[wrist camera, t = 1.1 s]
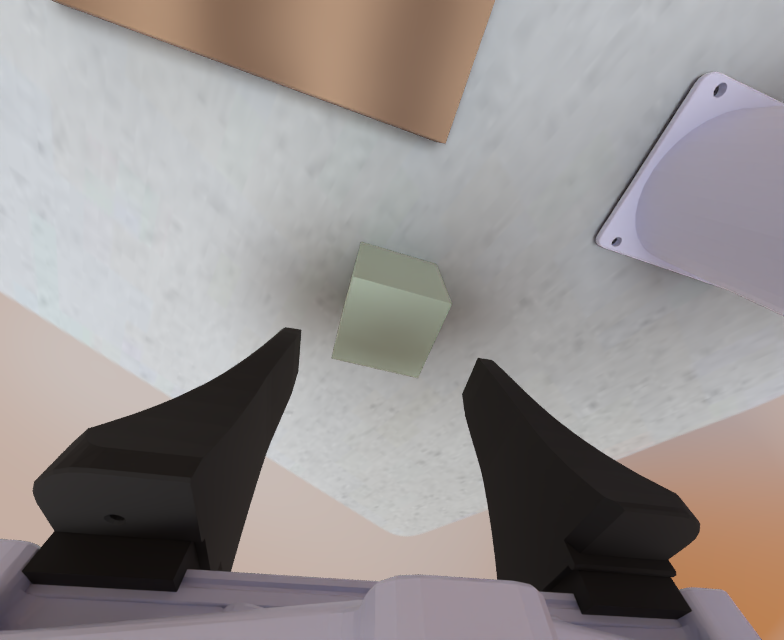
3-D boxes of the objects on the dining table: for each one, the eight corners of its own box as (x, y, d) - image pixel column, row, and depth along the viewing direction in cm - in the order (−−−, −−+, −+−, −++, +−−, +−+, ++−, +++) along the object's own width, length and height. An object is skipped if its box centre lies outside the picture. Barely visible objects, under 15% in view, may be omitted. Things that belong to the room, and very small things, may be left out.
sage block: (436, 263, 18) (452, 303, 14) (410, 326, 20) (417, 378, 16) (360, 241, 18) (353, 276, 13) (343, 309, 20) (331, 358, 15)
